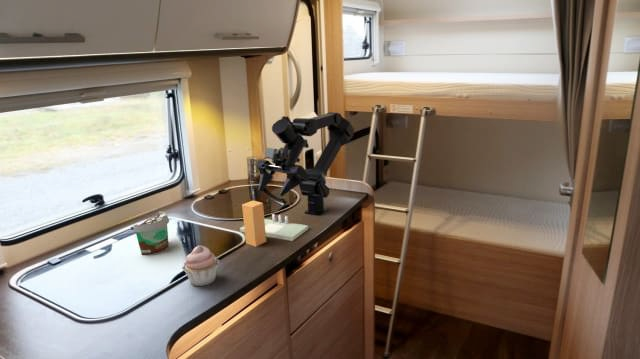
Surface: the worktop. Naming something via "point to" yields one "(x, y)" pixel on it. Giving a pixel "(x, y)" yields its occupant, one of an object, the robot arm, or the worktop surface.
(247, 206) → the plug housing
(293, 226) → the board
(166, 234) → the food container
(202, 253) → the cupcake
